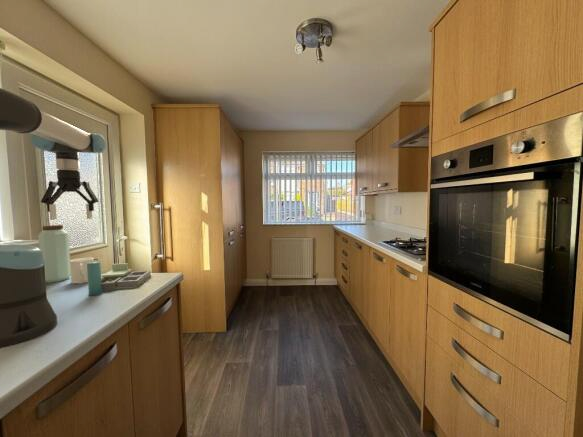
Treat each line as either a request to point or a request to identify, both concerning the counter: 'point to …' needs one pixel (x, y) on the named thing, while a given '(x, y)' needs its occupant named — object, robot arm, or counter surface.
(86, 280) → the mug
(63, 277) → the water bottle
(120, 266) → the cover
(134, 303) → the counter surface
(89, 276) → the pin
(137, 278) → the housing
